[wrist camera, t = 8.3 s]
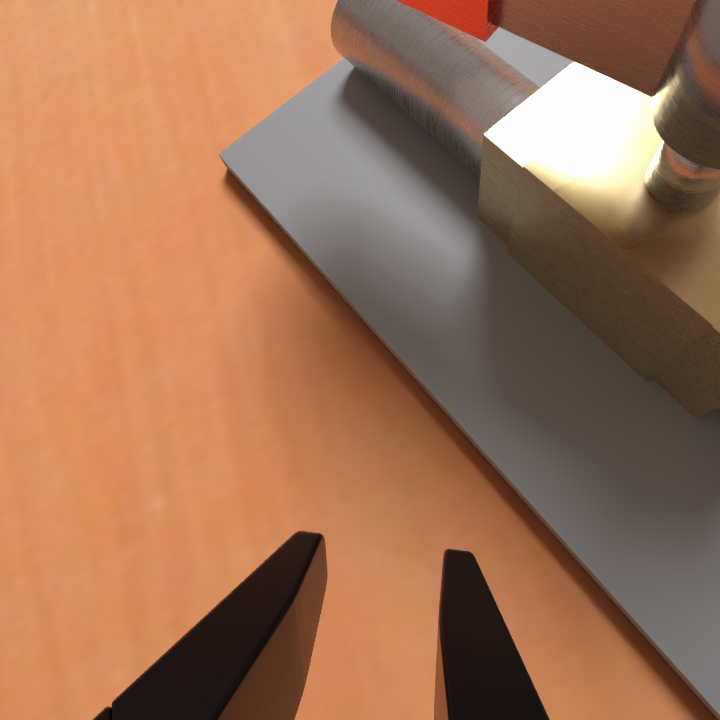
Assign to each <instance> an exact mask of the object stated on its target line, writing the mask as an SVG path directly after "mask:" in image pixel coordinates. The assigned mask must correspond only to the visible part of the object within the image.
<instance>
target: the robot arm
mask: <svg viewBox="0 0 720 720" xmlns="http://www.w3.org/2000/svg"><path fill="white" fill-rule="evenodd" d="M326 584H327V560H326V547H325V539H324V536H323V535H322V534H320V533H314V532H305V531H299V532H296V533H295V534H294V535H292V536H291V537H290V538H289V539H288V540H287V541H286V542H285V543H284V544H283V545H282V546H281V547H279V548H278V549H277V550H276V551H275V552H274V553H273V554H272V555H271V556H270V557H269V558H268V559H266V560H265V561H264V562H263V563H262V564H261V565H260V566H259V567H258V568H257V569H256V570H255V571H253V572H252V573H251V574H250V575H249V576H248V577H247V578H246V579H245V580H244V581H243V582H242V583H240V584H239V585H238V586H237V587H236V588H235V589H234V590H233V591H232V592H231V593H230V594H229V595H227V596H226V597H225V598H224V599H223V600H222V601H221V602H220V603H219V604H218V605H217V606H216V607H214V608H213V609H212V610H211V611H210V612H209V613H208V614H207V615H206V616H205V617H204V618H203V619H201V620H200V621H199V622H198V623H197V624H196V625H195V626H194V627H193V628H192V629H191V630H190V631H188V632H187V633H186V634H185V635H184V636H183V637H182V638H181V639H180V640H179V641H178V642H177V643H175V644H174V645H173V646H172V647H171V648H170V649H169V650H168V651H167V652H166V653H165V654H164V655H162V656H161V657H160V658H159V659H158V660H157V661H156V662H155V663H154V664H153V665H152V666H151V667H149V668H148V669H147V670H146V671H145V672H144V673H143V674H142V675H141V676H140V677H139V678H138V679H136V680H135V681H134V682H133V683H132V684H131V685H130V686H129V687H128V688H127V689H126V690H125V691H123V692H122V693H121V694H120V695H119V696H118V697H117V698H116V699H115V700H114V701H113V702H112V708H111V707H106V708H105V709H104V710H103V711H101V712H100V713H99V714H98V715H97V716H96V717H95V718H94V719H93V720H294V719H295V716H296V713H297V710H298V707H299V704H300V701H301V697H302V694H303V690H304V687H305V683H306V678H307V674H308V670H309V666H310V661H311V656H312V651H313V647H314V642H315V637H316V632H317V628H318V623H319V618H320V614H321V609H322V604H323V599H324V595H325V590H326ZM434 720H549V717H548V715H547V713H546V711H545V709H544V706H543V704H542V702H541V700H540V698H539V696H538V693H537V691H536V689H535V687H534V685H533V683H532V680H531V678H530V676H529V674H528V672H527V670H526V667H525V665H524V663H523V661H522V659H521V656H520V654H519V652H518V650H517V648H516V646H515V643H514V641H513V639H512V637H511V635H510V633H509V630H508V628H507V626H506V624H505V622H504V619H503V617H502V615H501V613H500V611H499V609H498V606H497V604H496V602H495V600H494V598H493V596H492V593H491V591H490V589H489V587H488V585H487V583H486V580H485V578H484V576H483V574H482V572H481V569H480V567H479V565H478V563H477V561H476V559H475V557H474V555H473V554H472V553H471V552H469V551H461V550H453V549H447V550H445V552H444V556H443V568H442V580H441V592H440V604H439V620H438V639H437V659H436V679H435V701H434Z"/></svg>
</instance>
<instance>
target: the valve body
mask: <svg viewBox="0 0 720 720" xmlns="http://www.w3.org/2000/svg"><path fill="white" fill-rule="evenodd" d="M331 37H332V42H333V45H334V47H335V49H336V50H337V52H338V53H339V54H341V55H342V56H343V57H344V58H345V59H346V60H347V61H349V62H350V63H351V64H352V65H353V66H354V67H355V68H356V69H358V70H359V71H360V72H361V73H362V74H363V75H364V76H365V77H367V78H368V79H369V80H370V81H371V82H372V83H373V84H375V85H376V86H377V87H378V88H379V89H380V90H381V91H382V92H384V93H385V94H386V95H387V96H388V97H389V98H390V99H392V100H393V101H394V102H395V103H396V104H397V105H398V106H399V107H401V108H402V109H403V110H404V111H405V112H406V113H407V114H409V115H410V116H411V117H412V118H413V119H414V120H415V121H416V122H418V123H419V124H420V125H421V126H422V127H423V128H424V129H426V130H427V131H428V132H429V133H430V134H431V135H432V136H433V137H435V138H436V139H437V140H438V141H439V142H440V143H441V144H442V145H444V146H445V147H446V148H447V149H448V150H449V151H450V152H452V153H453V154H454V155H455V156H456V157H457V158H458V159H459V160H461V161H462V162H463V163H464V164H465V165H466V166H467V167H469V168H470V169H471V170H472V171H473V172H474V173H475V174H476V175H478V176H479V177H480V187H479V201H478V214H477V218H479V219H480V220H481V221H482V222H483V223H484V224H485V225H486V226H487V227H488V228H489V229H491V230H492V231H493V232H494V233H495V234H496V235H497V236H498V237H499V238H500V239H501V240H502V241H504V242H505V243H506V244H507V245H508V250H507V253H508V254H509V255H510V256H511V257H512V258H513V259H514V260H515V261H516V262H517V263H518V264H520V265H521V266H522V267H523V268H524V269H525V270H526V271H527V272H528V273H529V274H530V275H531V276H532V277H534V278H535V279H536V280H537V281H538V282H539V283H540V284H541V285H542V286H543V287H544V288H545V289H547V290H548V291H549V292H550V293H551V294H552V295H553V296H554V297H555V298H556V299H557V300H558V301H559V302H561V303H562V304H563V305H564V306H565V307H566V308H567V309H568V310H569V311H570V312H571V313H572V314H573V315H575V316H576V317H577V318H578V319H579V320H580V321H581V322H582V323H583V324H584V325H585V326H586V327H587V328H589V329H590V330H591V331H592V332H593V333H594V334H595V335H596V336H597V337H598V338H599V339H600V340H602V341H603V342H604V343H605V344H606V345H607V346H608V347H609V348H610V349H611V350H612V351H613V352H614V353H616V354H617V355H618V356H619V357H620V358H621V359H622V360H623V361H624V362H625V363H626V364H627V365H628V366H630V367H631V368H632V369H633V370H634V371H635V372H636V373H637V374H638V375H639V376H640V377H641V378H643V379H644V380H647V379H648V378H649V377H651V378H652V379H654V380H655V381H656V382H657V383H658V384H659V385H660V386H661V387H662V388H663V389H664V390H666V391H667V392H668V393H669V394H670V395H671V396H672V397H673V398H674V399H675V400H676V401H677V402H679V403H680V404H681V405H682V406H683V407H684V408H685V409H686V410H687V411H688V412H689V413H691V414H692V415H693V416H694V417H695V418H698V417H700V416H702V415H704V414H706V413H709V412H711V411H713V410H715V409H717V408H719V407H720V170H718V169H713V168H709V167H705V166H702V165H699V164H696V163H694V162H692V161H689V160H688V159H686V158H684V157H682V156H680V155H679V154H678V153H676V152H675V151H674V150H672V149H671V148H670V147H669V146H668V145H667V144H666V143H665V142H664V141H663V139H662V138H661V137H660V135H659V134H658V132H657V130H656V128H655V126H654V124H653V121H652V116H651V98H652V97H650V96H648V95H646V94H644V93H642V92H639V91H637V90H635V89H633V88H631V87H629V86H626V85H624V84H622V83H620V82H618V81H615V80H613V79H611V78H609V77H607V76H605V75H602V74H600V73H598V72H596V71H594V70H591V69H589V68H587V67H585V66H583V65H581V64H578V63H576V62H573V63H572V64H571V65H569V66H568V67H567V68H566V69H564V70H563V71H562V72H561V73H559V74H558V75H557V76H556V77H554V78H553V79H552V80H551V81H549V82H548V83H547V84H546V85H544V86H543V87H542V88H541V87H539V86H538V85H537V84H535V83H534V82H533V81H531V80H530V79H529V78H527V77H526V76H525V75H523V74H522V73H521V72H520V71H518V70H517V69H516V68H514V67H513V66H512V65H510V64H509V63H508V62H506V61H505V60H504V59H503V58H501V57H500V56H499V55H497V54H496V53H495V52H493V51H492V50H491V49H489V48H488V47H487V46H486V45H484V44H483V43H482V42H480V41H479V40H478V39H476V38H475V37H473V36H471V35H469V34H467V33H465V32H463V31H461V30H458V29H456V28H454V27H452V26H450V25H448V24H446V23H444V22H442V21H439V20H437V19H435V18H433V17H431V16H429V15H427V14H425V13H422V12H420V11H418V10H416V9H414V8H412V7H410V6H408V5H406V4H403V3H401V2H399V1H397V0H338V2H337V4H336V7H335V10H334V13H333V17H332V23H331Z"/></svg>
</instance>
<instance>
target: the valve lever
mask: <svg viewBox="0 0 720 720" xmlns="http://www.w3.org/2000/svg"><path fill="white" fill-rule="evenodd" d="M397 1H399V2H401V3H403V4H406V5H408V6H410V7H412V8H414V9H416V10H418V11H420V12H422V13H425V14H427V15H429V16H431V17H433V18H435V19H437V20H439V21H442V22H444V23H446V24H448V25H450V26H452V27H454V28H456V29H458V30H461V31H463V32H465V33H467V34H469V35H471V36H473V37H475V38H478V39H480V40H482V41H484V42H486V41H487V40H488V39H489V38H490V37H491V35H492V34H493V33H494V32H495V31H496V30H497V29H498V27H500V28H502V29H504V30H506V31H508V32H511V33H513V34H515V35H517V36H519V37H522V38H524V39H526V40H528V41H530V42H532V43H535V44H537V45H539V46H541V47H543V48H546V49H548V50H550V51H552V52H554V53H557V54H559V55H561V56H563V57H565V58H567V59H570V60H572V61H574V62H576V63H578V64H581V65H583V66H585V67H587V68H589V69H591V70H594V71H596V72H598V73H600V74H602V75H605V76H607V77H609V78H611V79H613V80H615V81H618V82H620V83H622V84H624V85H626V86H629V87H631V88H633V89H635V90H637V91H639V92H642V93H644V94H646V95H648V96H650V97H652V98H651V116H652V121H653V124H654V126H655V128H656V130H657V132H658V134H659V135H660V137H661V138H662V139H663V141H664V142H665V143H666V144H667V145H668V146H669V147H670V148H671V149H672V150H674V151H675V152H676V153H678V154H679V155H680V156H682V157H684V158H686V159H688V160H689V161H692V162H694V163H696V164H699V165H702V166H705V167H709V168H713V169H718V170H720V0H397Z"/></svg>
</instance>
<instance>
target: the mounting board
mask: <svg viewBox="0 0 720 720" xmlns="http://www.w3.org/2000/svg"><path fill="white" fill-rule="evenodd" d="M476 39H478V38H476ZM478 40H479V41H480V42H482V43H483V44H484V45H486V46H487V47H488V48H489V49H491V50H492V51H493V52H495V53H496V54H497V55H499V56H500V57H501V58H503V59H504V60H505V61H506V62H508V63H509V64H510V65H512V66H513V67H514V68H516V69H517V70H518V71H520V72H521V73H522V74H523V75H525V76H526V77H527V78H529V79H530V80H531V81H533V82H534V83H535V84H537V85H538V86H539V87H541V88H542V87H543V86H544V85H546V84H547V83H548V82H549V81H551V80H552V79H553V78H554V77H556V76H557V75H558V74H559V73H561V72H562V71H563V70H564V69H566V68H567V67H568V66H569V65H571V64H572V63H573V62H574V61H572V60H570V59H567V58H565V57H563V56H561V55H559V54H557V53H554V52H552V51H550V50H548V49H546V48H543V47H541V46H539V45H537V44H535V43H532V42H530V41H528V40H526V39H524V38H522V37H519V36H517V35H515V34H513V33H511V32H508V31H506V30H504V29H502V28H500V27H498V29H497V30H496V31H495V32H494V33H493V34H492V35H491V37H490V38H489V39H488V40H487V41H486V42H484V41H482V40H480V39H478ZM218 155H219V156H220V158H221V159H222V161H223V163H224V164H225V166H226V167H227V169H228V170H229V171H230V172H231V173H232V174H233V175H234V177H235V178H236V179H237V180H238V181H239V182H240V183H241V184H242V186H243V187H244V188H245V189H246V190H247V191H248V192H249V193H250V194H251V196H252V197H253V198H254V199H255V200H256V201H257V202H258V203H259V205H260V206H261V207H262V208H263V209H264V210H265V211H266V212H267V214H268V215H269V216H270V217H271V218H272V219H273V220H274V221H275V223H276V224H277V225H278V226H279V227H280V228H281V229H282V230H283V232H284V233H285V234H286V235H287V236H288V237H289V238H290V239H291V241H292V242H293V243H294V244H295V245H296V246H297V247H298V248H299V250H300V251H301V252H302V253H303V254H304V255H305V256H306V257H307V259H308V260H309V261H310V262H311V263H312V264H313V265H314V266H315V268H316V269H317V270H318V271H319V272H320V273H321V274H322V275H323V276H324V278H325V279H326V280H327V281H328V282H329V283H330V284H331V285H332V287H333V288H334V289H335V290H336V291H337V292H338V293H339V294H340V296H341V297H342V298H343V299H344V300H345V301H346V302H347V303H348V305H349V306H350V307H351V308H352V309H353V310H354V311H355V312H356V314H357V315H358V316H359V317H360V318H361V319H362V320H363V321H364V323H365V324H366V325H367V326H368V327H369V328H370V329H371V330H372V332H373V333H374V334H375V335H376V336H377V337H378V338H379V339H380V341H381V342H382V343H383V344H384V345H385V346H386V347H387V348H388V350H389V351H390V352H391V353H392V354H393V355H394V356H395V357H396V359H397V360H398V361H399V362H400V363H401V364H402V365H403V366H404V367H405V369H406V370H407V371H408V372H409V373H410V374H411V375H412V376H413V378H414V379H415V380H416V381H417V382H418V383H419V384H420V385H421V387H422V388H423V389H424V390H425V391H426V392H427V393H428V394H429V396H430V397H431V398H432V399H433V400H434V401H435V402H436V403H437V405H438V406H439V407H440V408H441V409H442V410H443V411H444V412H445V414H446V415H447V416H448V417H449V418H450V419H451V420H452V421H453V423H454V424H455V425H456V426H457V427H458V428H459V429H460V430H461V432H462V433H463V434H464V435H465V436H466V437H467V438H468V439H469V441H470V442H471V443H472V444H473V445H474V446H475V447H476V448H477V449H478V451H479V452H480V453H481V454H482V455H483V456H484V457H485V458H486V460H487V461H488V462H489V463H490V464H491V465H492V466H493V467H494V469H495V470H496V471H497V472H498V473H499V474H500V475H501V476H502V478H503V479H504V480H505V481H506V482H507V483H508V484H509V485H510V487H511V488H512V489H513V490H514V491H515V492H516V493H517V494H518V496H519V497H520V498H521V499H522V500H523V501H524V502H525V503H526V505H527V506H528V507H529V508H530V509H531V510H532V511H533V512H534V514H535V515H536V516H537V517H538V518H539V519H540V520H541V521H542V523H543V524H544V525H545V526H546V527H547V528H548V529H549V530H550V531H551V533H552V534H553V535H554V536H555V537H556V538H557V539H558V540H559V542H560V543H561V544H562V545H563V546H564V547H565V548H566V549H567V551H568V552H569V553H570V554H571V555H572V556H573V557H574V558H575V560H576V561H577V562H578V563H579V564H580V565H581V566H582V567H583V569H584V570H585V571H586V572H587V573H588V574H589V575H590V576H591V578H592V579H593V580H594V581H595V582H596V583H597V584H598V585H599V587H600V588H601V589H602V590H603V591H604V592H605V593H606V594H607V596H608V597H609V598H610V599H611V600H612V601H613V602H614V603H615V605H616V606H617V607H618V608H619V609H620V610H621V611H622V612H623V614H624V615H625V616H626V617H627V618H628V619H629V620H630V621H631V622H632V624H633V625H634V626H635V627H636V628H637V629H638V630H639V631H640V633H641V634H642V635H643V636H644V637H645V638H646V639H647V640H648V642H649V643H650V644H651V645H652V646H653V647H654V648H655V649H656V651H657V652H658V653H659V654H660V655H661V656H662V657H663V658H664V660H665V661H666V662H667V663H668V664H669V665H670V666H671V667H672V669H673V670H674V671H675V672H676V673H677V674H678V675H679V676H680V678H681V679H682V680H683V681H684V682H685V683H686V684H687V685H688V687H689V688H690V689H691V690H692V691H693V692H694V693H695V694H696V696H697V697H698V698H699V699H700V700H701V701H702V702H703V703H704V704H705V706H706V707H707V708H708V709H709V710H710V711H711V712H712V713H713V715H714V716H715V717H716V718H717V719H718V720H720V407H719V408H717V409H715V410H713V411H711V412H709V413H706V414H704V415H702V416H700V417H698V418H695V417H694V416H693V415H692V414H691V413H689V412H688V411H687V410H686V409H685V408H684V407H683V406H682V405H681V404H680V403H679V402H677V401H676V400H675V399H674V398H673V397H672V396H671V395H670V394H669V393H668V392H667V391H666V390H664V389H663V388H662V387H661V386H660V385H659V384H658V383H657V382H656V381H655V380H654V379H652V378H651V377H649V378H648V379H647V380H644V379H643V378H641V377H640V376H639V375H638V374H637V373H636V372H635V371H634V370H633V369H632V368H631V367H630V366H628V365H627V364H626V363H625V362H624V361H623V360H622V359H621V358H620V357H619V356H618V355H617V354H616V353H614V352H613V351H612V350H611V349H610V348H609V347H608V346H607V345H606V344H605V343H604V342H603V341H602V340H600V339H599V338H598V337H597V336H596V335H595V334H594V333H593V332H592V331H591V330H590V329H589V328H587V327H586V326H585V325H584V324H583V323H582V322H581V321H580V320H579V319H578V318H577V317H576V316H575V315H573V314H572V313H571V312H570V311H569V310H568V309H567V308H566V307H565V306H564V305H563V304H562V303H561V302H559V301H558V300H557V299H556V298H555V297H554V296H553V295H552V294H551V293H550V292H549V291H548V290H547V289H545V288H544V287H543V286H542V285H541V284H540V283H539V282H538V281H537V280H536V279H535V278H534V277H532V276H531V275H530V274H529V273H528V272H527V271H526V270H525V269H524V268H523V267H522V266H521V265H520V264H518V263H517V262H516V261H515V260H514V259H513V258H512V257H511V256H510V255H509V254H508V253H507V250H508V245H507V244H506V243H505V242H504V241H502V240H501V239H500V238H499V237H498V236H497V235H496V234H495V233H494V232H493V231H492V230H491V229H489V228H488V227H487V226H486V225H485V224H484V223H483V222H482V221H481V220H480V219H479V218H477V214H478V201H479V187H480V177H479V176H478V175H476V174H475V173H474V172H473V171H472V170H471V169H470V168H469V167H467V166H466V165H465V164H464V163H463V162H462V161H461V160H459V159H458V158H457V157H456V156H455V155H454V154H453V153H452V152H450V151H449V150H448V149H447V148H446V147H445V146H444V145H442V144H441V143H440V142H439V141H438V140H437V139H436V138H435V137H433V136H432V135H431V134H430V133H429V132H428V131H427V130H426V129H424V128H423V127H422V126H421V125H420V124H419V123H418V122H416V121H415V120H414V119H413V118H412V117H411V116H410V115H409V114H407V113H406V112H405V111H404V110H403V109H402V108H401V107H399V106H398V105H397V104H396V103H395V102H394V101H393V100H392V99H390V98H389V97H388V96H387V95H386V94H385V93H384V92H382V91H381V90H380V89H379V88H378V87H377V86H376V85H375V84H373V83H372V82H371V81H370V80H369V79H368V78H367V77H365V76H364V75H363V74H362V73H361V72H360V71H359V70H358V69H356V68H355V67H354V66H353V65H352V64H351V63H350V62H349V61H347V60H346V59H345V58H343V59H342V60H341V61H339V62H338V63H337V64H336V65H334V66H333V67H332V68H330V69H329V70H328V71H326V72H325V73H324V74H323V75H321V76H320V77H319V78H317V79H316V80H315V81H313V82H312V83H311V84H310V85H308V86H307V87H306V88H304V89H303V90H302V91H300V92H299V93H298V94H296V95H295V96H294V97H293V98H291V99H290V100H289V101H287V102H286V103H285V104H283V105H282V106H281V107H280V108H278V109H277V110H276V111H274V112H273V113H272V114H270V115H269V116H268V117H267V118H265V119H264V120H263V121H261V122H260V123H259V124H257V125H256V126H255V127H254V128H252V129H251V130H250V131H248V132H247V133H246V134H244V135H243V136H242V137H241V138H239V139H238V140H237V141H235V142H234V143H233V144H231V145H230V146H229V147H227V148H226V149H225V150H224V151H222V152H221V153H220V154H218Z"/></svg>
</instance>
